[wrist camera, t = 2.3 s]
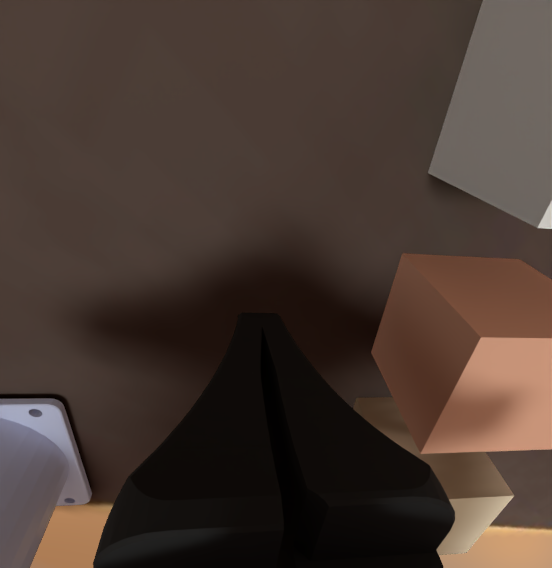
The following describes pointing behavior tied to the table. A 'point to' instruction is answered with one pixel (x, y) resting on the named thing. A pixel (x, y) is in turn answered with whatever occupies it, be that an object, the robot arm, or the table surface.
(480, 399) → the terracotta block
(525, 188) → the light grey block
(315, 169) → the table surface
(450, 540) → the birch block
